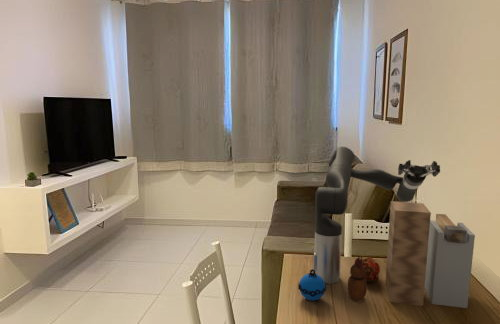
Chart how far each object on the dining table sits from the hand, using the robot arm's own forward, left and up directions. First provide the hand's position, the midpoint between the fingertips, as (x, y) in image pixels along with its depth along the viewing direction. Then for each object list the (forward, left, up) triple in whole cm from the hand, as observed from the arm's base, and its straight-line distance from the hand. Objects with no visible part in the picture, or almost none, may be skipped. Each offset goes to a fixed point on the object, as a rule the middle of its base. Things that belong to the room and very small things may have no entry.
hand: (422, 163), depth 135 cm
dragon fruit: (-18, -13, -41) cm, 47 cm away
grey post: (+6, -20, -41) cm, 46 cm away
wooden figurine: (-22, -28, -41) cm, 55 cm away
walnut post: (-7, -22, -41) cm, 47 cm away
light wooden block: (+6, -17, -20) cm, 27 cm away
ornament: (-36, -32, -41) cm, 64 cm away
